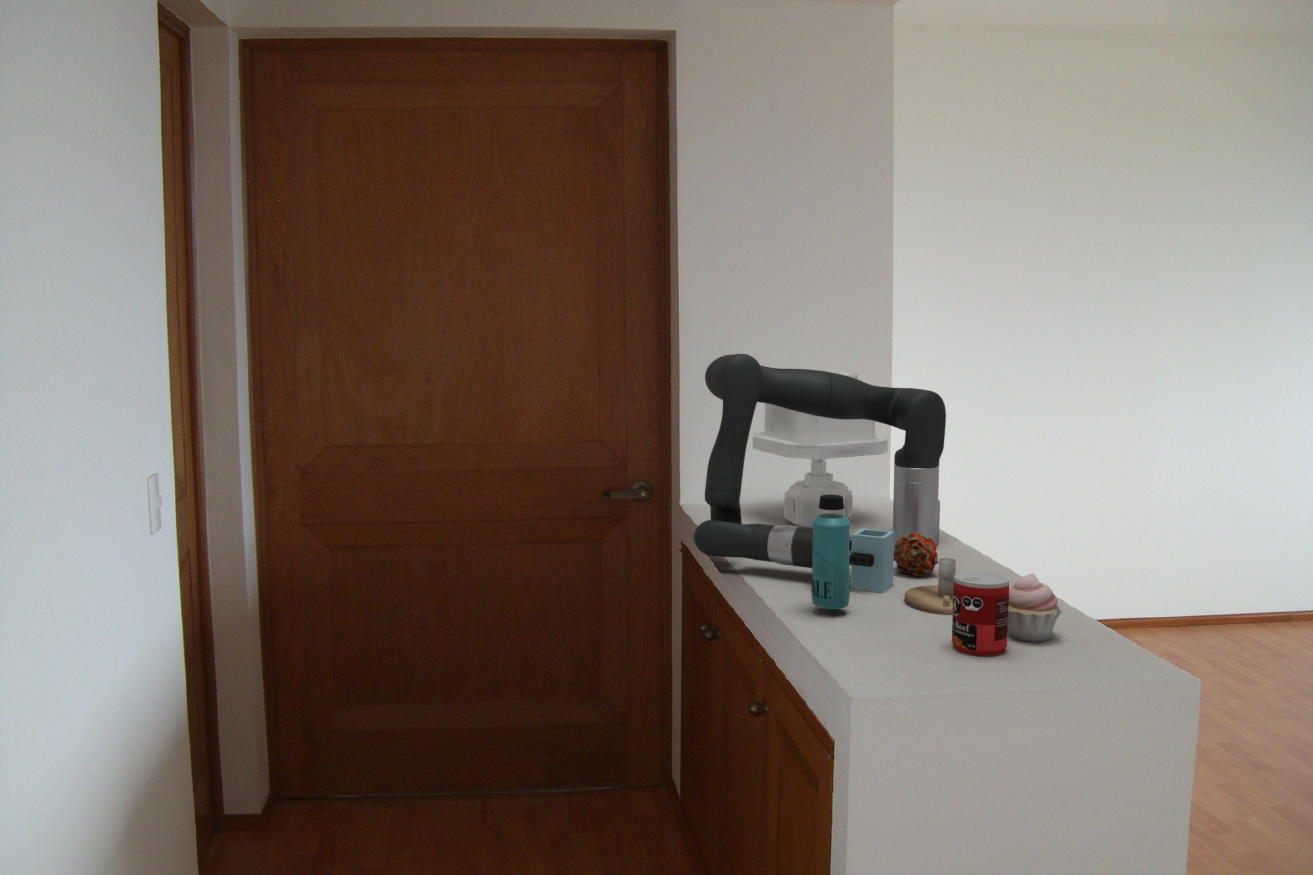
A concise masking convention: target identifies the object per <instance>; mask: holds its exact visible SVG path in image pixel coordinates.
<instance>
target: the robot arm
mask: <svg viewBox="0 0 1313 875" xmlns="http://www.w3.org/2000/svg"><path fill="white" fill-rule="evenodd" d="M826 371H827V370H818V369H809V368H808V369H807V368H776V367H769V366H764V365H760V363H759V361H758V360H757V359H756V358H755V357H753V356H752V355H750V354H746V353H732V354H725V355H722V356H719V357H717V358H715V359H714V360H713V361H712V362H710V364H708V366H707V368H706V369H705V373H704V374H705V375H704V381H705V382H704V383H705V384H706V387H707V389H708V390H709V392H710V393H711V394H712V395H713V396H715V398H717V399H720V400H722V411H721V412H722V414H721V421H720V426H719V430H718V433H717V435H716V438H715V441H714V444H713V447H712V449H711V452H710V454H709V455H710V456H709V459H708V464H707V467H706V468H707V469H706V478H705V485H704V501H705V503H706V504H707V505H709V507H710V519H708V520H707V519H706V520H705V521H703V522H701V523H700V524H699V525H698V526H696V528H695V531H694V533H693V541H694V545H695V546H696V548H697V549H698V551H700V552H701V553H702V554H704V555H706V556H708V557H709V556H710V557H716V558H717V557H720V558H721V557H722V558H740V559H741V558H743V559H749V560H754V561H761V562H768V563H769V562H770V563H775V564H778V565H784V566H791V567H800V568H807V569H808V568H809V569H812V554H813V553H812V552H813V546H812V544H813V543H812V542H813V527H801V526H798V525H791V524H790V525H789V524H785V525H783V524H782V525H781V524H780V525H778V524H776V525H775V524H767V523H747V524H745V523H742V522H743V521H742V509H741V503H740V500H741V491H742V484H743V475H744V466H745V465H744V464H745V458H746V451H747V446H748V441H749V436H750V433H751V428H752V422H753V419H754V415H755V411H756V407H757V403H763V404H765V403H767V404H772V405H776V406H779V407H782V408H786V409H789V410H793V411H797V412H801V413H806V414H810V415H815V416H820V417H826V418H832V419H844V420H852V419H866V420H872V421H875V423H880V424H883V425H888V426H890V427H893V428H896V429H899V430H902V431H905V432H904V433H905V435H904V444H903V446H902V447H901V448H899V449H898V450H896V451H895V452H894V458H893V460H894V462H893V464H894V465H893V504H892V505H893V507H892V531H893V532H894V546H895V545H896V542H897V541H898V540H899V539H900V538H902V537H906V536H907V535H910V534H912V533H913V532H916V533H920V534H923V535H925V536H926V537H927V538H930V539H932V540H933V541H934V543H935V544H936V547H937V546H938V545H939V544H940V524H941V522H940V521H941V520H940V519H941V501H940V499H939V492H940V491H939V486H940V485H939V484H940V481H939V480H940V459H941V456H942V455H943V452H944V447H945V439H946V438H945V436H946V423H947V410H946V409H947V408H946V404H945V402H944V400H943V398H942V397H941V396H940V394H939V393H937V392H935V391H933V390H928V389H922V388H916V387H890V386H882V385H881V386H880V385H873V384H871V383H867V382H865V381H863V380H860V379H855V378H852V377H849V376H845V375H842V374H837V373H832V372H826ZM938 543H939V544H938ZM849 563H850V564H849V567H851V566H852V564H853V565H858V566H867V567H872V566H873V565H874V555H873V554H867V553H858V552H853V554H852V536H850V542H849Z"/></svg>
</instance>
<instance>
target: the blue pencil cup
mask: <svg viewBox="0 0 1313 875" xmlns="http://www.w3.org/2000/svg"><path fill="white" fill-rule="evenodd" d="M851 537H852V554H853V552H858V553H867V554H873V555H874V565H873V566H872V567H867V566H858V565H853V564H852V566H850V567H851V569H850V590H858V591H863V592H864V591H866V592H873V593H874V592H875V593H879V594H880V593H882V594H884V593H885V592H886V591H888V590H889V589H890V588H891V587H892V586H893V585H894V562H895V561H894V532H893V530H892V531H891V530H881V529H874V528H873V529H872V528H860V529H859V530H857V531H855V532H854V533H852V534H851Z"/></svg>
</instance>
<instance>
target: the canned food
mask: <svg viewBox="0 0 1313 875" xmlns="http://www.w3.org/2000/svg"><path fill="white" fill-rule="evenodd" d="M1009 589H1010V579H1009V577H1007V576H1005V575H1004V574H1000V573H996V572H989V571H982V570H981V571H980V570H979V571H977V570H975V571H974V570H972V571H971V570H970V571H969V570H968V571H962V572H957V573H955V575H954V585H953V615H952V617H951V618H952V619H951V620H952V622H951V623H952V626H951V644H952V646H953V649H955V650H956V651H958V652H960V653H963V654H965V655H969V656H976V657H994V656H1000V655H1002V654H1003V653H1006V652H1005V651H1006V649H1007V645H1008V609H1009Z"/></svg>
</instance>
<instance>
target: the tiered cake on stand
mask: <svg viewBox="0 0 1313 875" xmlns="http://www.w3.org/2000/svg"><path fill="white" fill-rule="evenodd" d="M825 371H826V372H832V373H837V374H842V375H845V376H849V377H852V378H855V379H858V378H859V377H858V376H859V373H856V372H849V371H839V370H825ZM858 380H859V379H858ZM888 438H889V437H887V436H883V435H877V434H876V421H872V420H866V419H852V420H844V419H832V418H826V417H820V416H815V415H810V414H806V413H801V412H797V411H793V410H789V409H786V408H782V407H779V406H776V405H772V404H767V403H764V431H762V432H756V433H754V434H752V449H753V450H756V451H759V452H764V453H768V454H773V455H776V456H781V457H784V458H788V459H789V458H791V459H805V460H806V459H807V460H811V463H810V467H811V468H810V470H811V471H810V472H806V473H804V480H797V481H795V482H794V483H793V484H792V485H791V486H790V487H789V489H788V490H786V491H785V492H784V501H783V513H784V514H783V515H784V519H785V520H788V521H789V522H791V524H793V525H794V526H800V527H810V528H813V524H812V523H813V520H814V519H815V518H816V517H817V516H819V515H820V514H828V513H833V514H841V515H843V516H845V517H846V518H847V519H848V520H849V519H850V518H852V516H853V515H852V514H853V498H854V497H853V491H852V490H849V489H848V485H846V484H845V483H844V482H842V481H841V482H840V481H837V480H834V474H833V473H829V472H827V462H826V460H829V459H830V460H831V459H840V458H841V459H842V458H853V457H855V458H856V457H865V456H866V457H867V456H876V455H877V456H879V455H883V454H886V453H887V452H888V444H889V442H888V440H889V439H888ZM822 495H840V496H842V497H843V500H844V509H842V510H823V509H820V508H819V502H820V496H822Z"/></svg>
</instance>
